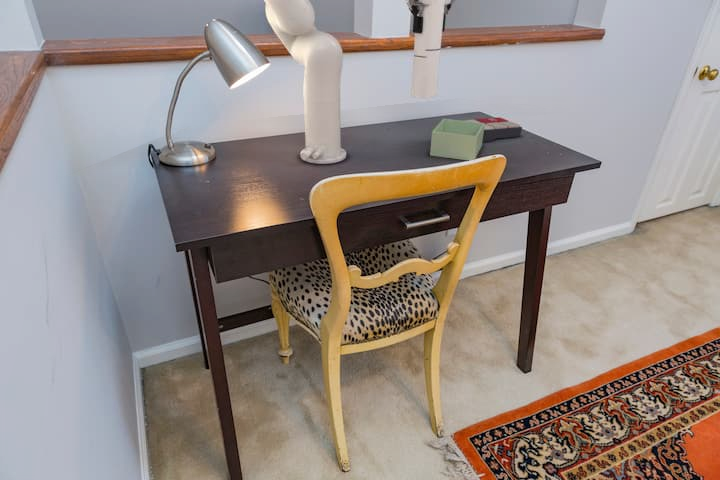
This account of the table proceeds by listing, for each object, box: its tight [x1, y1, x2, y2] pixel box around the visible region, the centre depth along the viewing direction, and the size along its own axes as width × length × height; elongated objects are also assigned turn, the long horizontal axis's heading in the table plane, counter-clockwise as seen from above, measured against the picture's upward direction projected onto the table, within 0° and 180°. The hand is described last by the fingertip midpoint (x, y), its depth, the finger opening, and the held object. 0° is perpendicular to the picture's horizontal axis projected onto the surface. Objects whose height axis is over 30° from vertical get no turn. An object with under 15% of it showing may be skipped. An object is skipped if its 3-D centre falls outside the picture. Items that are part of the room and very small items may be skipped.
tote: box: [429, 118, 485, 161], centre depth 138 cm, size 14×12×7 cm
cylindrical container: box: [410, 0, 445, 99], centre depth 132 cm, size 7×7×25 cm
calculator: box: [464, 116, 523, 143], centre depth 152 cm, size 11×4×15 cm
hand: (428, 31), depth 130 cm, fingers closed on cylindrical container, 7 cm apart
